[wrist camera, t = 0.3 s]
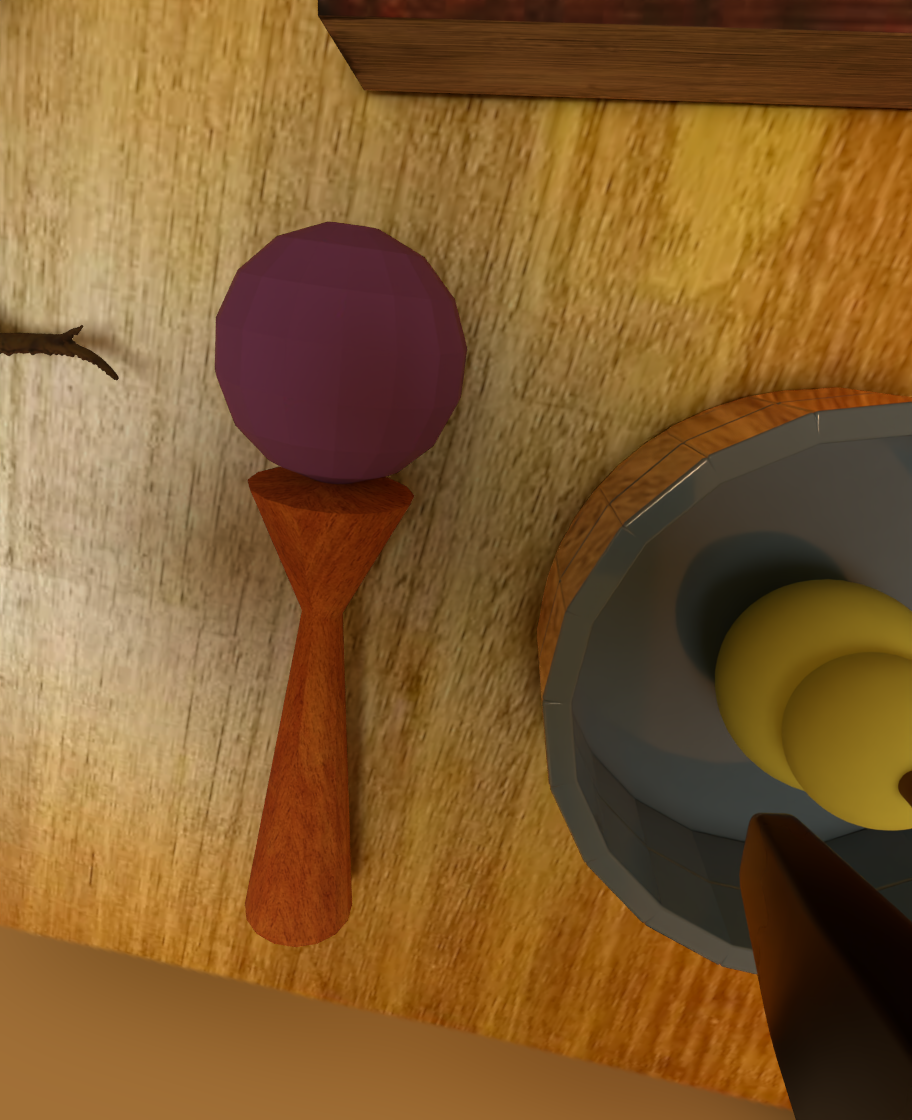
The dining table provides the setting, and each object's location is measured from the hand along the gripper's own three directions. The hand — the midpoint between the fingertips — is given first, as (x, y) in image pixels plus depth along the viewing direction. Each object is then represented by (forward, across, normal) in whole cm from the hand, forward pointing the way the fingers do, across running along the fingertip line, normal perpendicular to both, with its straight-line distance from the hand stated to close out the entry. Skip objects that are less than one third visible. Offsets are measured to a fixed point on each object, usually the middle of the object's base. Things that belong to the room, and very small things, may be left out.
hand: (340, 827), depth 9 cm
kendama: (+14, +3, +5) cm, 15 cm away
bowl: (+14, -10, +6) cm, 18 cm away
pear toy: (+13, -10, +6) cm, 18 cm away
